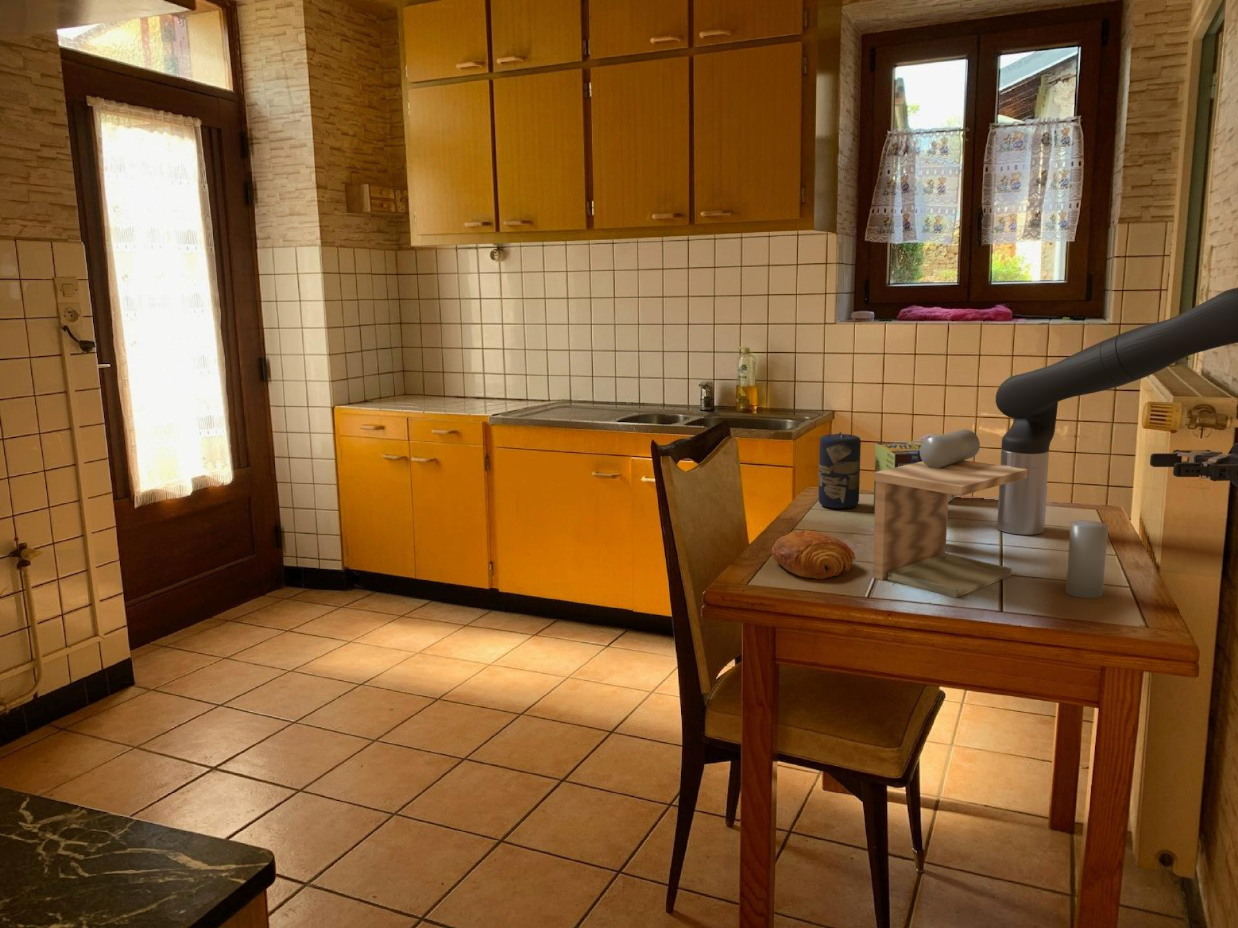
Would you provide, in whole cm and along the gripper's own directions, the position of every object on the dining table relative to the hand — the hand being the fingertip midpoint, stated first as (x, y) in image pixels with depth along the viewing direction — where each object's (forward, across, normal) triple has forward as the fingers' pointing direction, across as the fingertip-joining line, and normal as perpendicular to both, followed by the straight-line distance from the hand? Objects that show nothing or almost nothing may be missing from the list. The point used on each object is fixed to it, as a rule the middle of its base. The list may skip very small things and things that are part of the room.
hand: (1162, 464), depth 154 cm
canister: (+45, -63, +22) cm, 80 cm away
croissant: (+55, -12, +22) cm, 61 cm away
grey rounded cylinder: (+11, 0, +22) cm, 25 cm away
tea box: (+20, -74, +22) cm, 79 cm away
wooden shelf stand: (+31, -8, +22) cm, 39 cm away
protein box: (+30, -56, +22) cm, 67 cm away
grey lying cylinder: (+34, -10, 0) cm, 36 cm away
